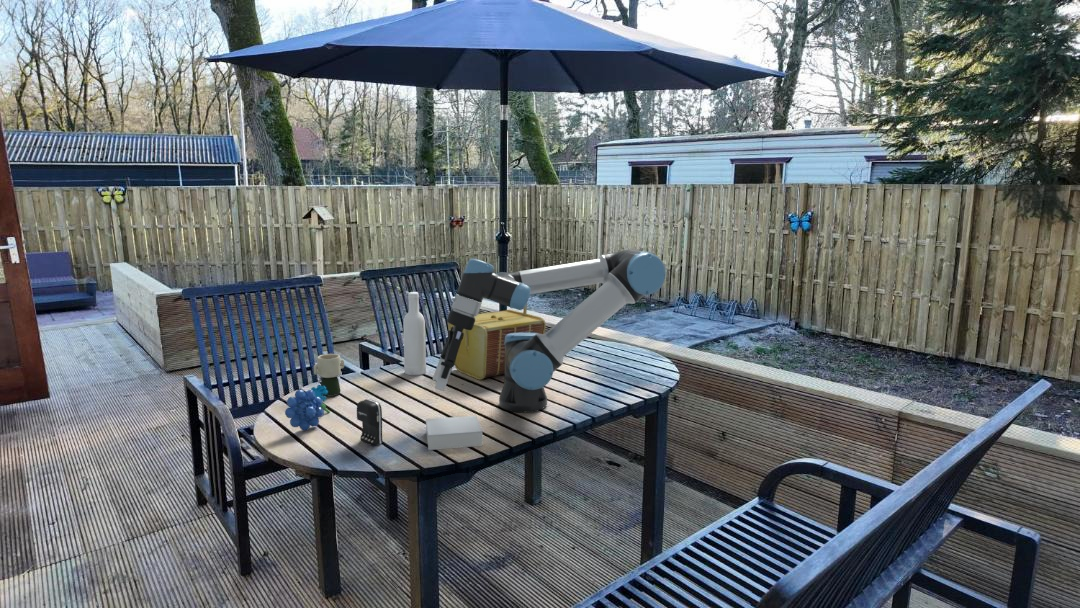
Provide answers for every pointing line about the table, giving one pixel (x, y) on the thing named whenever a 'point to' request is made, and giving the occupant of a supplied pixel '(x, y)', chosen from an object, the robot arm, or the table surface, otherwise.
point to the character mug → (329, 372)
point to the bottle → (414, 338)
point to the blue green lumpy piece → (319, 393)
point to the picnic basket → (492, 341)
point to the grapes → (304, 409)
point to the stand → (453, 432)
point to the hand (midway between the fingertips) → (437, 385)
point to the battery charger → (370, 421)
